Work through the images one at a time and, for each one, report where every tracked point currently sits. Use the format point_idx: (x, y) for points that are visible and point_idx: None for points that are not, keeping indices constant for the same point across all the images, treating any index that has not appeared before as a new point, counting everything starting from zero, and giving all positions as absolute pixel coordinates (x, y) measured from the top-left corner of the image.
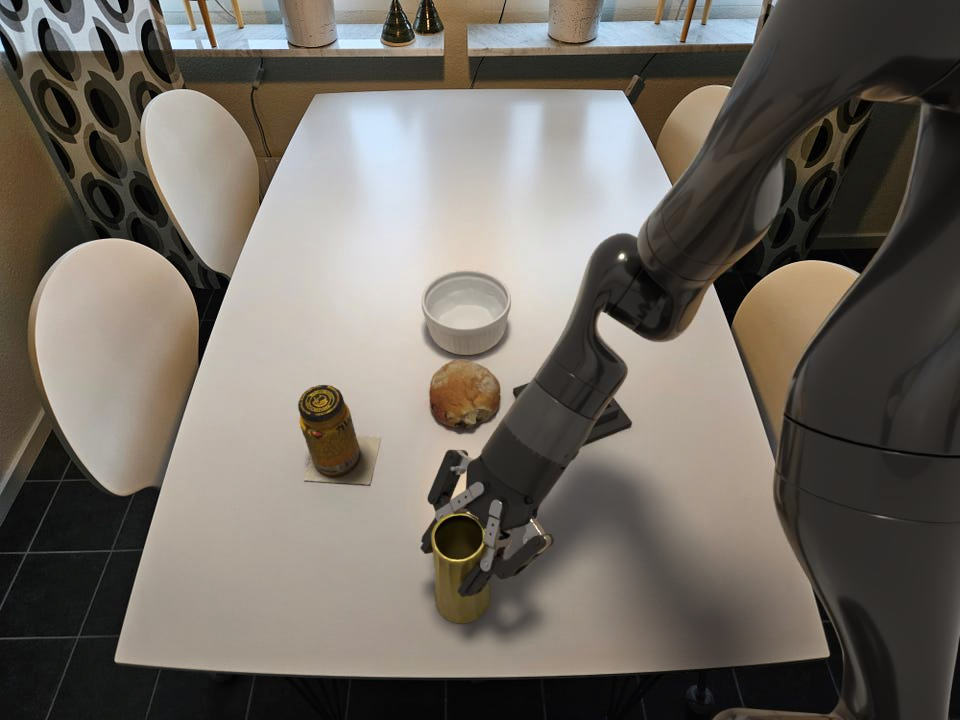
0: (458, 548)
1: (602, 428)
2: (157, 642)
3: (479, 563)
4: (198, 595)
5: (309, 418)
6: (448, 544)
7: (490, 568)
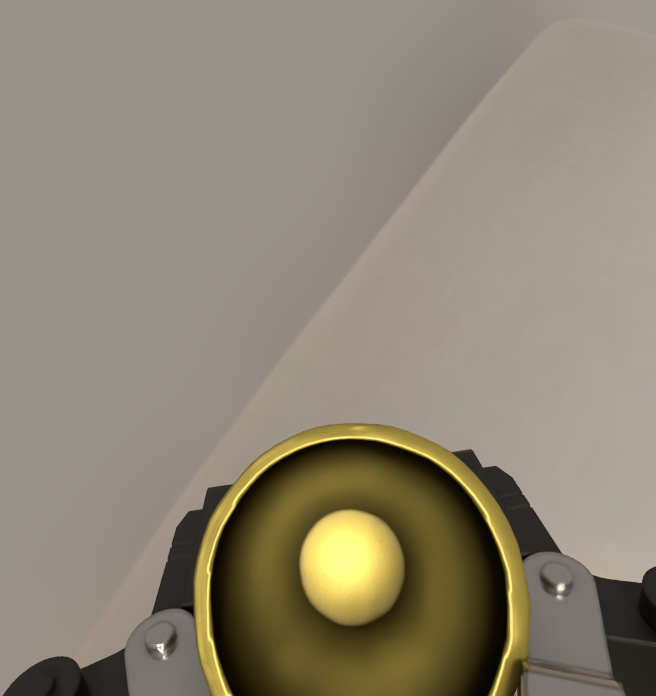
0: (426, 609)
1: None
2: (561, 44)
3: None
4: (623, 105)
5: None
6: (442, 571)
7: (127, 653)
